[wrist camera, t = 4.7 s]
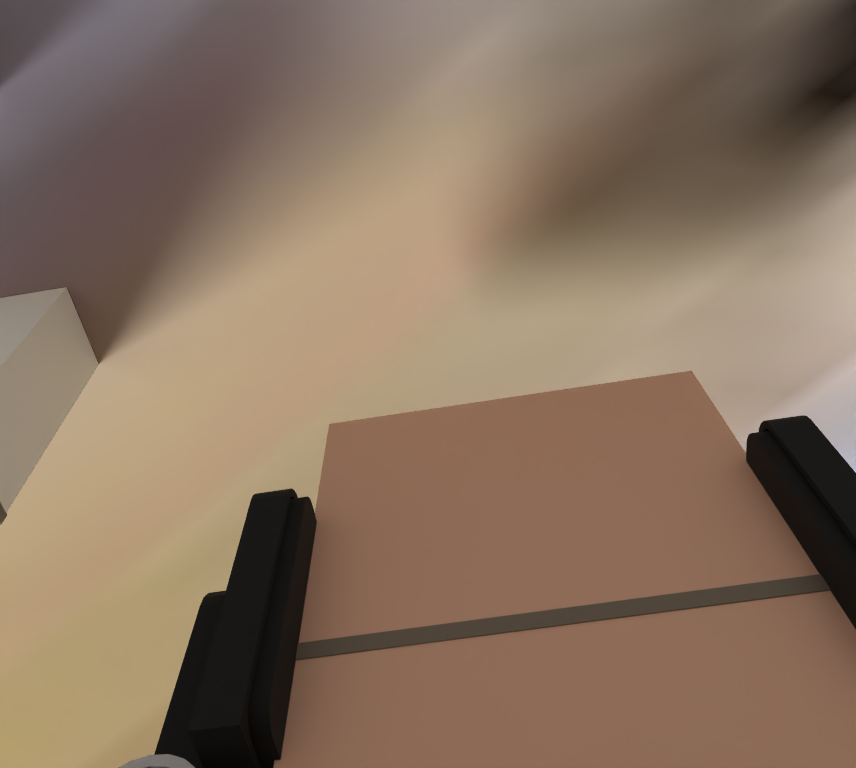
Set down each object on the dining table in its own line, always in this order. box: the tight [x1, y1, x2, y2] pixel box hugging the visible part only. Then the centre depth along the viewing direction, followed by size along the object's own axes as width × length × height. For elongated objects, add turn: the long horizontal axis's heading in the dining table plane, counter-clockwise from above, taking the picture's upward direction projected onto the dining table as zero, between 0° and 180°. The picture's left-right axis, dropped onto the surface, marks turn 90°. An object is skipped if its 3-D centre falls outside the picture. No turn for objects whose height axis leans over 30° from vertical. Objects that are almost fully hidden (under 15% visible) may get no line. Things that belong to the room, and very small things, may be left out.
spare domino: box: [273, 371, 856, 768], centre depth 10 cm, size 2×6×10 cm, turn 99°
